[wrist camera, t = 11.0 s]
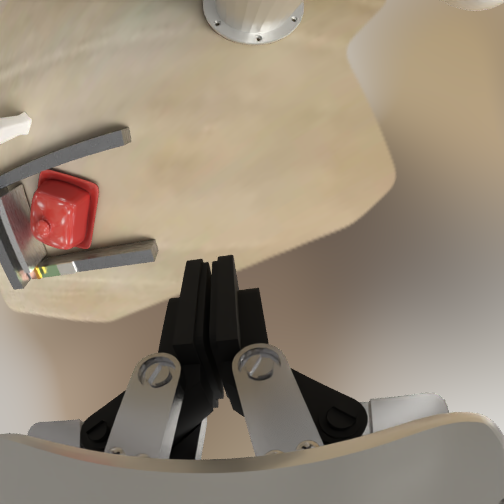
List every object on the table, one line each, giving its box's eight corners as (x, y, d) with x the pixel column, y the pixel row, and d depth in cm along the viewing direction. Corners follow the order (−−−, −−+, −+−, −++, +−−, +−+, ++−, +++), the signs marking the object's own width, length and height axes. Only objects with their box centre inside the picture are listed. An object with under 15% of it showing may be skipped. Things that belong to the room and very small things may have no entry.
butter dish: (43, 164, 33) (12, 181, 26) (104, 182, 36) (78, 203, 29) (38, 228, 38) (12, 253, 31) (93, 247, 41) (72, 278, 34)
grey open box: (-6, 178, 32) (-27, 191, 27) (128, 127, 32) (112, 133, 27) (28, 270, 42) (13, 289, 36) (158, 250, 42) (150, 273, 37)
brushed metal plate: (16, 186, 33) (-5, 200, 28) (22, 184, 33) (0, 197, 28) (46, 266, 41) (31, 286, 36) (52, 265, 41) (37, 285, 36)
